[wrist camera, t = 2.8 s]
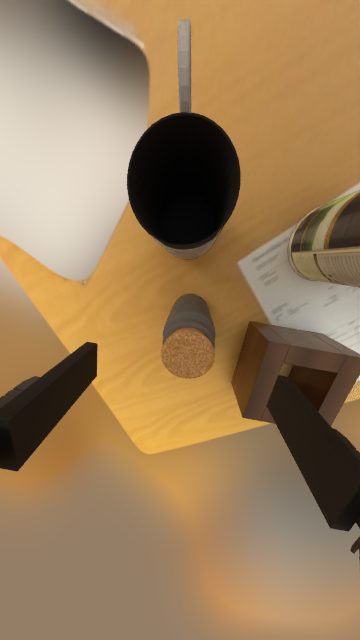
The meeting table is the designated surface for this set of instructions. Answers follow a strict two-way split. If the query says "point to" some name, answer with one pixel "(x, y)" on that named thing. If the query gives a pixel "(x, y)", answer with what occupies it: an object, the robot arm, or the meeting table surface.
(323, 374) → the bottle stand
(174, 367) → the bottle
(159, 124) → the glass holder
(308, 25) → the meeting table surface
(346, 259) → the coffee can
